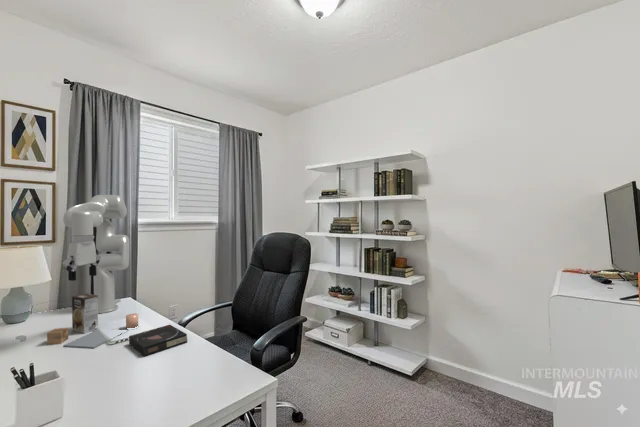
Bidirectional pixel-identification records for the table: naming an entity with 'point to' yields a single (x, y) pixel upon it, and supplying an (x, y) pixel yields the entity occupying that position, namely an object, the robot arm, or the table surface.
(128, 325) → the terracotta cylinder
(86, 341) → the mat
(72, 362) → the table surface
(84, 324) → the coffee box
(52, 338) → the walnut block
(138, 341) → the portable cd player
